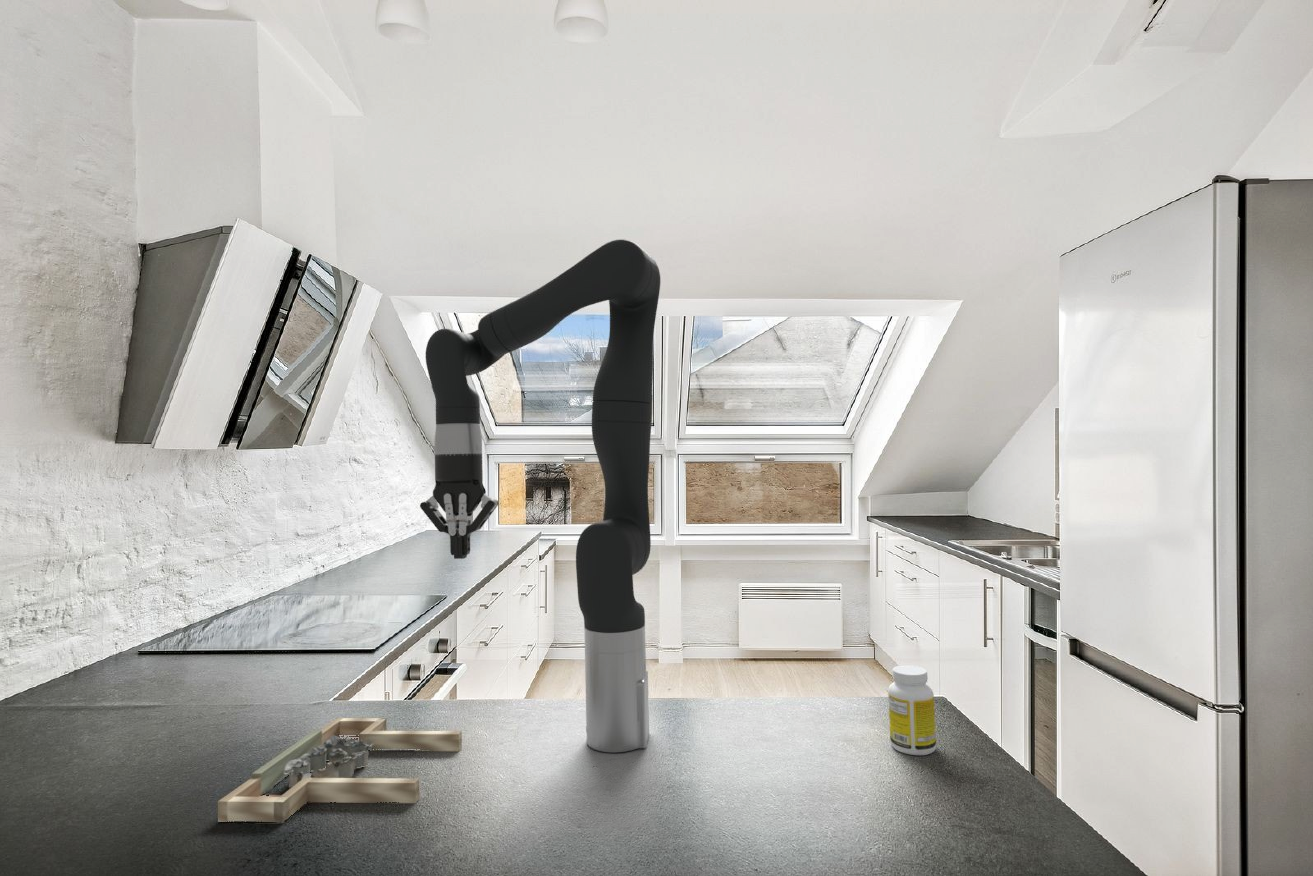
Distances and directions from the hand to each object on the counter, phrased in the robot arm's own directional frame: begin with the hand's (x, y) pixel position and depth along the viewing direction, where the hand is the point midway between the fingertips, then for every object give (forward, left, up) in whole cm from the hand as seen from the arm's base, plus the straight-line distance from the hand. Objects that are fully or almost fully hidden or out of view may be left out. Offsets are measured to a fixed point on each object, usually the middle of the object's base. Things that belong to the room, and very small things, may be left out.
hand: (460, 558), depth 111 cm
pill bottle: (-69, +8, -27) cm, 75 cm away
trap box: (+8, +17, -27) cm, 33 cm away
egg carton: (+12, +18, -28) cm, 35 cm away
